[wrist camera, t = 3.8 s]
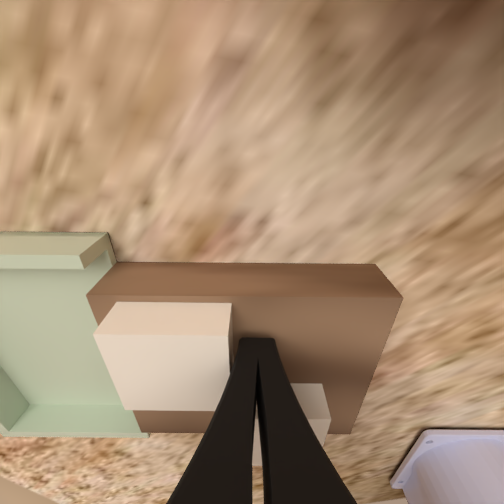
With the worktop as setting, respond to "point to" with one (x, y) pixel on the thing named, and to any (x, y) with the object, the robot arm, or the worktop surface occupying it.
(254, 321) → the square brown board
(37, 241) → the tray
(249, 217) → the worktop surface
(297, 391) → the tile far
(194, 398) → the tile near
